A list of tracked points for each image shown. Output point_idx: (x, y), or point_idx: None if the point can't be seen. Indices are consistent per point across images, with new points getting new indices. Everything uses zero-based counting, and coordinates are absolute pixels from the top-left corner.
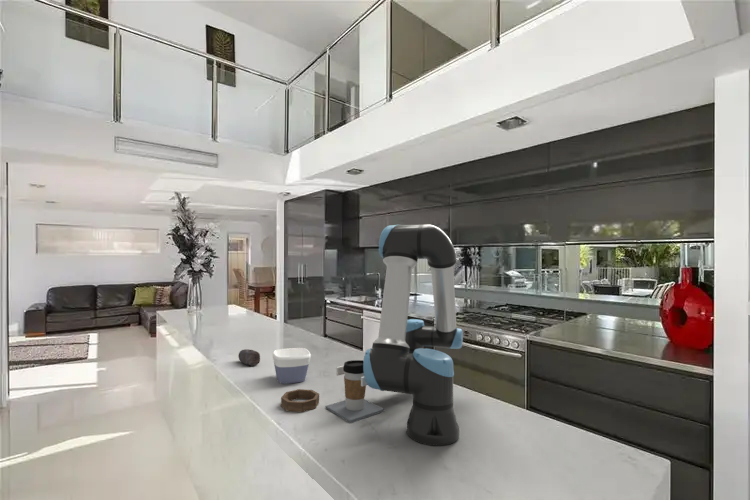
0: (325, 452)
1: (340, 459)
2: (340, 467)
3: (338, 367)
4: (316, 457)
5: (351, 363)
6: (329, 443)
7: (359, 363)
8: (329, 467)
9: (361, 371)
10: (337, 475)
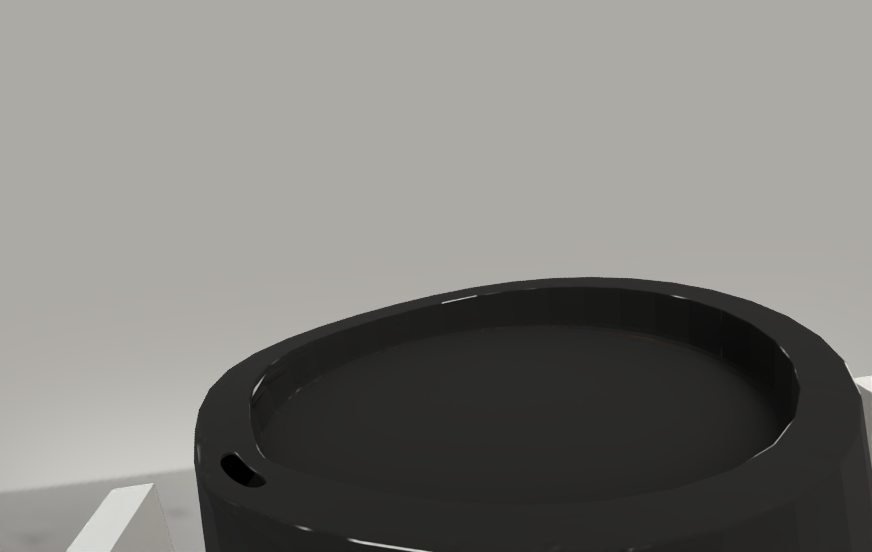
0: (161, 505)
1: (54, 534)
2: (21, 517)
3: (862, 385)
4: (170, 474)
5: (744, 397)
6: (202, 538)
7: (617, 487)
8: (70, 490)
9: (240, 483)
10: (7, 496)
